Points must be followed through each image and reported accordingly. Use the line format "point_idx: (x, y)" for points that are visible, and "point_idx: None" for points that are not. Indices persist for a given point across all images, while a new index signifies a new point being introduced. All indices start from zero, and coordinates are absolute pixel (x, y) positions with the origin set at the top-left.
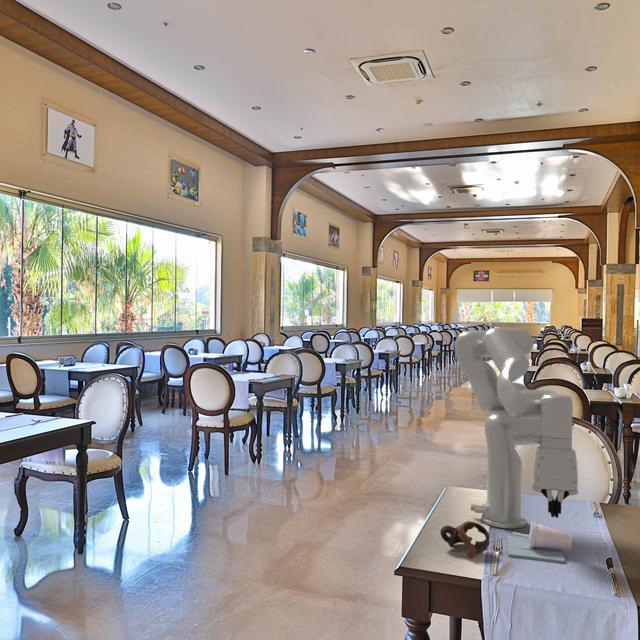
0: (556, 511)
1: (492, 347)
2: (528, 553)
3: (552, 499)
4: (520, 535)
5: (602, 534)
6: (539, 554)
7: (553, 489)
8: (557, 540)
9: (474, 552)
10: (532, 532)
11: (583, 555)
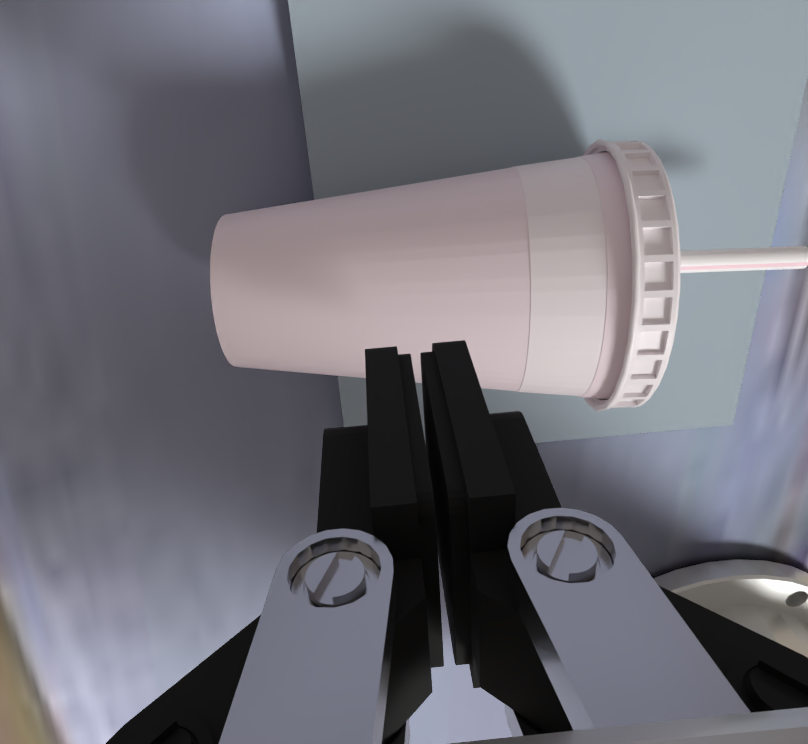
0: (400, 388)
1: None
2: (630, 38)
3: (511, 545)
4: (722, 250)
5: (91, 697)
6: (527, 57)
7: (608, 734)
8: (365, 202)
9: None
10: (652, 182)
11: (151, 270)
